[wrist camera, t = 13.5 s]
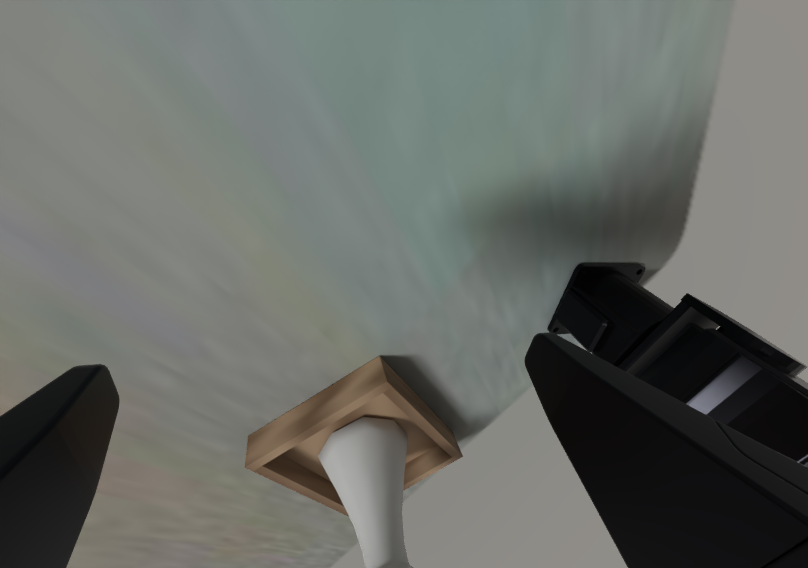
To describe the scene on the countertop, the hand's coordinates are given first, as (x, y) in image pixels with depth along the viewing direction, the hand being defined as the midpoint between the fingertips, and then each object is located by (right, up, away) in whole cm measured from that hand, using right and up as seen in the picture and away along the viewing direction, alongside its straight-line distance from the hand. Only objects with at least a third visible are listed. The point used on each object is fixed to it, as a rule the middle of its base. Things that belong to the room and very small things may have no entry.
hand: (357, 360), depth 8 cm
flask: (-2, -12, +23) cm, 26 cm away
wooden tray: (-3, -11, +23) cm, 26 cm away
